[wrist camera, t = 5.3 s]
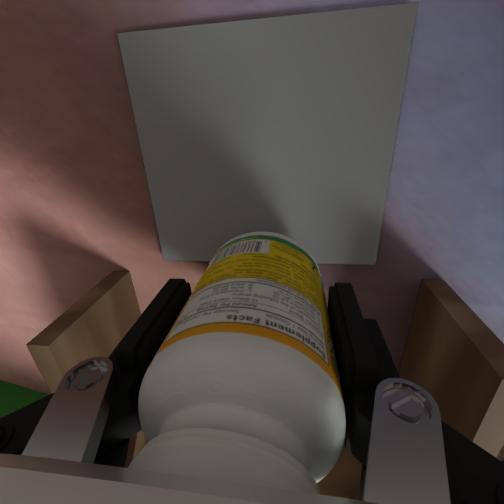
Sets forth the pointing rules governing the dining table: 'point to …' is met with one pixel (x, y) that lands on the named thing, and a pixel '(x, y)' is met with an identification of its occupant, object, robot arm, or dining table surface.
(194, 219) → the grey mat
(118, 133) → the dining table surface
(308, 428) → the supplement bottle
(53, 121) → the dining table surface
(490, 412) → the wooden u-shaped frame
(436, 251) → the dining table surface
